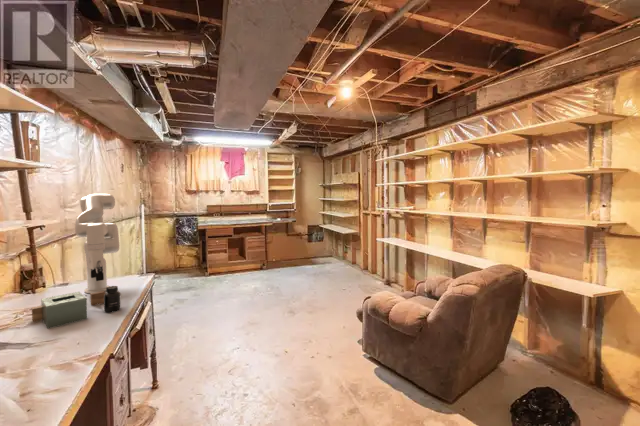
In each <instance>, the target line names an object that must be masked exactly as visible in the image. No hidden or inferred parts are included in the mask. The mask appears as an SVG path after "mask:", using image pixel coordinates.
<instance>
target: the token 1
mask: <svg viewBox="0 0 640 426" xmlns="http://www.w3.org/2000/svg"><path fill="white" fill-rule="evenodd" d="M31 319H32V322H37V321H43V320H42V306H41V305H37V306H32V307H31Z"/></svg>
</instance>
